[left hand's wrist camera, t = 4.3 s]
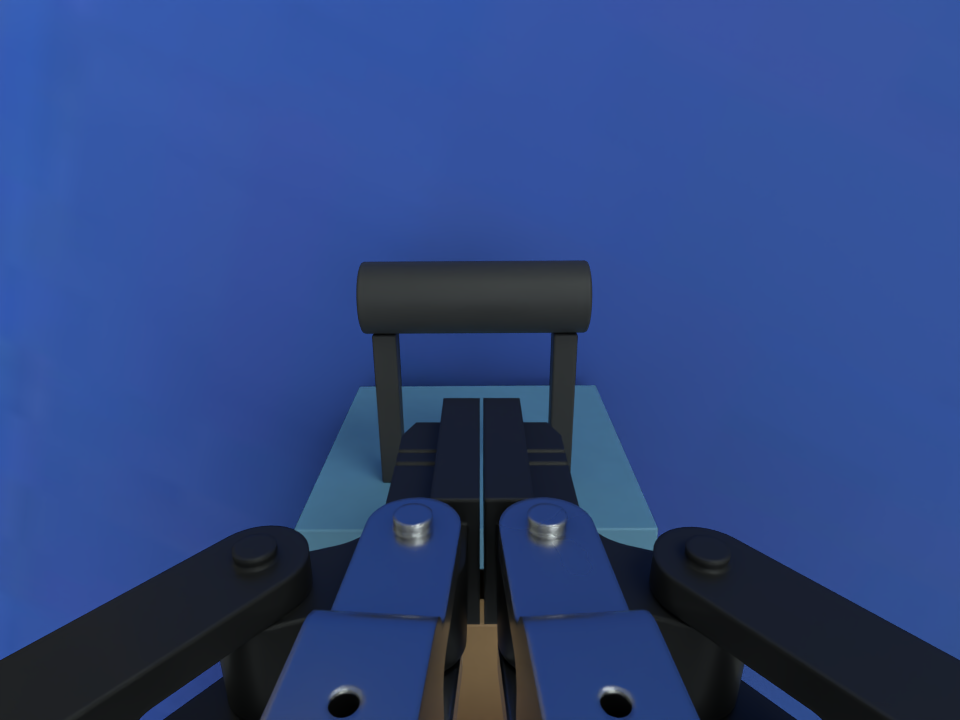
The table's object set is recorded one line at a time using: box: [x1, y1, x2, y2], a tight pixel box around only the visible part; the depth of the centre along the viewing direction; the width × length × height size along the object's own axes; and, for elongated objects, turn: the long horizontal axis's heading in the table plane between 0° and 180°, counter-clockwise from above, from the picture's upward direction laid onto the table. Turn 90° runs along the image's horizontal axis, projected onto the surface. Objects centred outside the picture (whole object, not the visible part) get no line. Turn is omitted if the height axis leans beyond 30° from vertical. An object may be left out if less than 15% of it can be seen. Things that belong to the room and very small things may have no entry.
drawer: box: [294, 261, 658, 599], centre depth 22 cm, size 26×9×9 cm, turn 0°
